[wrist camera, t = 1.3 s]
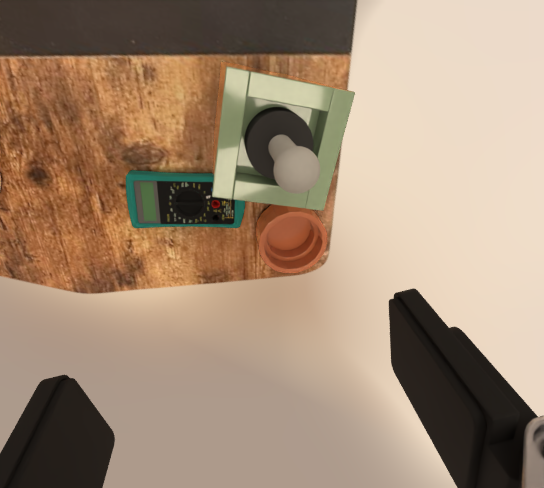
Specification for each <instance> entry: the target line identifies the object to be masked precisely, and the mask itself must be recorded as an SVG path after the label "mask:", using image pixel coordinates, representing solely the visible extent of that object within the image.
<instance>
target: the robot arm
mask: <svg viewBox="0 0 544 488" xmlns="http://www.w3.org/2000/svg"><path fill="white" fill-rule="evenodd" d="M0 190H1V174H0ZM389 317H390V318H389V319H390V342H391V343H390V344H391V363H392V367H393V370H394V373H395V375H396V377H397V378H398V380H399V382H400V384H401V386H402V387H403V389H404V391H405V393H406V395H407V397H408V398H409V400H410V402H411V404H412V405H413V408H414V409H415V411H416V413H417V414H418V417H419V418H420V420H421V422H422V424H423V426H424V428H425V429H426V431H427V433H428V435H429V436H430V438H431V440H432V442H433V444H434V446H435V448H436V449H437V451H438V453H439V455H440V456H441V459H442V460H443V462H444V464H445V466H446V468H447V469H448V471H449V473H450V475H451V477H452V478H453V480H454V482H455V484H456V486H457V487H458V488H544V416H540V417H538V416H537V415H536V414H535V413H534V412H533V411H532V410H531V409H530V407H529V406H528V405H527V404H526V403H525V402H524V400H523V399H522V398H521V397H520V396H519V395H518V394H517V392H515V390H514V389H513V388H512V387H511V386H510V385H509V384H508V382H507V381H506V380H505V379H504V378H503V377H502V376H501V374H500V373H499V372H498V371H497V370H496V369H495V368H494V366H493V365H492V364H491V363H490V362H489V361H488V360H487V358H486V357H485V356H484V355H483V354H482V353H481V352H480V350H479V349H478V348H477V347H476V346H475V345H474V344H473V343H472V341H471V340H470V339H469V338H468V337H467V336H466V335H465V333H464V332H462V330H460V329H459V328H457V327H451V328H448V326H447V325H446V324H445V323H444V322H443V321H442V319H441V318H440V317H439V316H438V314H437V313H436V312H435V311H434V310H433V309H432V307H431V306H430V305H429V304H428V303H427V302H426V300H425V299H424V298H423V297H422V295H421V294H420V293H419V292H418V291H417V290H416V289H410V290H406V291H402V292H398V293H395V294H394V299H390V300H389ZM114 441H115V438H114V433H113V431H112V429H111V428H110V427H109V425H108V424H107V423H106V421H105V420H104V418H103V417H102V416H101V414H100V413H99V412H98V410H97V409H96V407H95V406H94V405H93V403H92V402H91V401H90V399H89V398H88V396H87V395H86V394H85V392H84V391H83V390H82V388H81V387H80V385H79V384H78V383H77V381H76V380H75V379H73V378H69V377H68V376H67V375H61V376H57V377H53V378H49V379H45V380H43V381H41V382H40V384H39V385H38V386H37V388H36V390H35V392H34V394H33V396H32V397H31V399H30V401H29V403H28V405H27V406H26V408H25V410H24V412H23V414H22V415H21V417H20V419H19V421H18V423H17V424H16V426H15V428H14V430H13V432H12V433H11V435H10V437H9V439H8V441H7V442H6V444H5V446H4V448H3V450H2V451H1V453H0V488H102V487H103V483H104V480H105V476H106V472H107V469H108V465H109V462H110V458H111V454H112V450H113V447H114Z"/></svg>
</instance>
